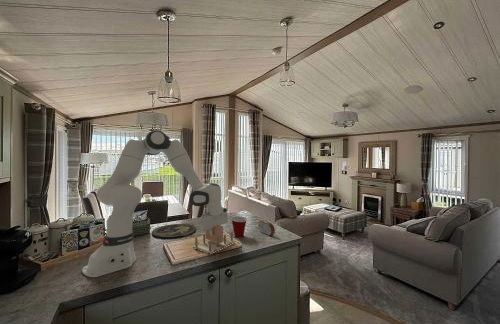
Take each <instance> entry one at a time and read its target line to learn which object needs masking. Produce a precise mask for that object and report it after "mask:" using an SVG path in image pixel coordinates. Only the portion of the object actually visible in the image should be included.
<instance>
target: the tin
mask: <svg viewBox="0 0 500 324" xmlns="http://www.w3.org/2000/svg"><path fill="white" fill-rule="evenodd" d="M258 230H259V232H260V233H261V234H264V235H266V236H273V235H275V233H276V232H275V231H276V230H275V226H274V224H273V223H272V222H269V221H267V220H264V219H263V220H262V219H261V220H260V221H259V222H258Z"/></svg>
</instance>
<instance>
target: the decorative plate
mask: <svg viewBox="0 0 500 324" xmlns="http://www.w3.org/2000/svg"><path fill="white" fill-rule="evenodd" d="M196 232H197V227H196V225H193V224H189V223H173V224H166V225H161V226H159V227H155V228H154V229H153V230H152V231H151V236H152V237H153V238H154V239H159V240H174V239H175V240H177V239H182V238H186V237H189V236H191V235H193V234H195V233H196Z"/></svg>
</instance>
